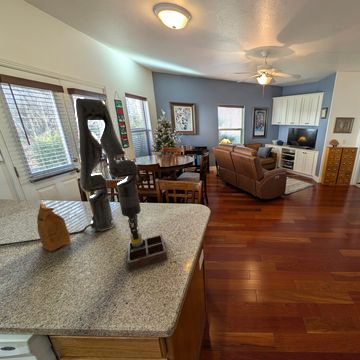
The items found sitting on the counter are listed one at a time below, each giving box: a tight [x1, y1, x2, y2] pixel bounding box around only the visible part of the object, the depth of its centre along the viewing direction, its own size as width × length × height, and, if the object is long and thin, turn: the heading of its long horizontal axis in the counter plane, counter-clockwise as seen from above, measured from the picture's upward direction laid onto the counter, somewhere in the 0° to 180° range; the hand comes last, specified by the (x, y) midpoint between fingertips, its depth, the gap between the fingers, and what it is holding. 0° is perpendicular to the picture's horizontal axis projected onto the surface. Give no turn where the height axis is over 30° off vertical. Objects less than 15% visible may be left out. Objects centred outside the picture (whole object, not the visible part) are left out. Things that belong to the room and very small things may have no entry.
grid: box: [127, 234, 168, 271], centre depth 90 cm, size 16×16×4 cm
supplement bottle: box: [129, 226, 143, 246], centre depth 90 cm, size 5×5×8 cm
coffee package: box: [36, 203, 72, 252], centre depth 94 cm, size 10×12×22 cm
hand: (136, 235), depth 90 cm, fingers closed on supplement bottle, 4 cm apart
